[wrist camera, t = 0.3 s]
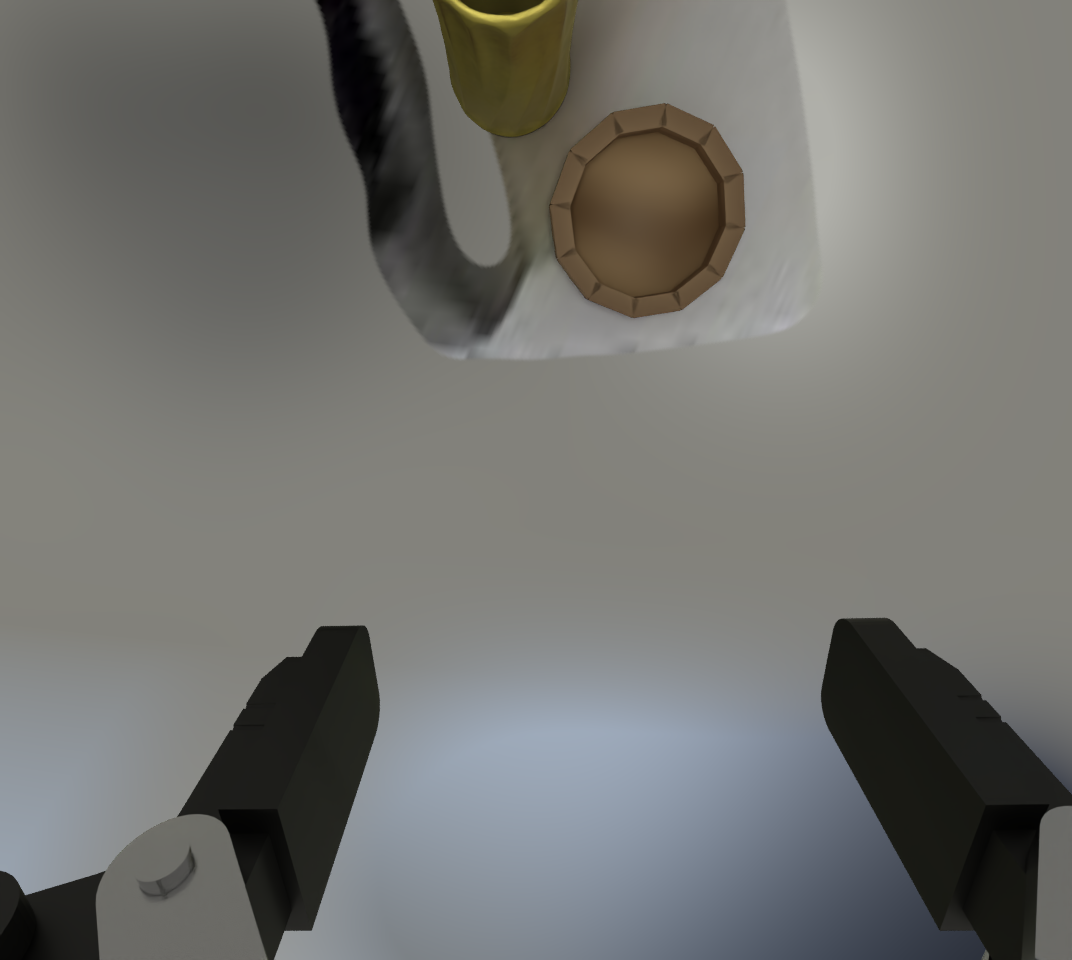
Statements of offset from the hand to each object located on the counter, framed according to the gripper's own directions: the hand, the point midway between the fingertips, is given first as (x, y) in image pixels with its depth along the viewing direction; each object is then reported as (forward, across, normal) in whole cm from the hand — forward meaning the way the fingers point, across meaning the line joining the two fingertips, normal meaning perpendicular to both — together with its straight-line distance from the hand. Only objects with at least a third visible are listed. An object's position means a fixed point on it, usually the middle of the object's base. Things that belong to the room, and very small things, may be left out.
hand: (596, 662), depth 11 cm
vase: (+29, +2, -14) cm, 32 cm away
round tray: (+28, -5, -7) cm, 29 cm away
